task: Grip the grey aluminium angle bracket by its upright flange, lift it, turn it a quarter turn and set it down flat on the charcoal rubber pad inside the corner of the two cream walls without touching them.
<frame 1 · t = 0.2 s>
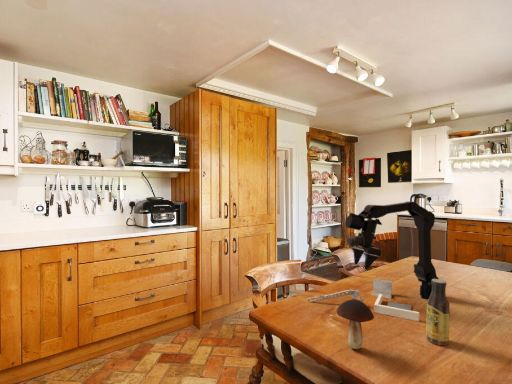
hand: (360, 266, 125), 15 cm above the table, tool pointing down, fingers open, 9 cm apart
arena: (398, 309, 116), on the table
bracket: (335, 304, 122), on the table
decorative mushroom: (354, 349, 87), on the table
sauce bottle: (437, 342, 91), on the table
aluminium bracket: (382, 295, 133), on the table
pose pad: (398, 309, 116), on the table
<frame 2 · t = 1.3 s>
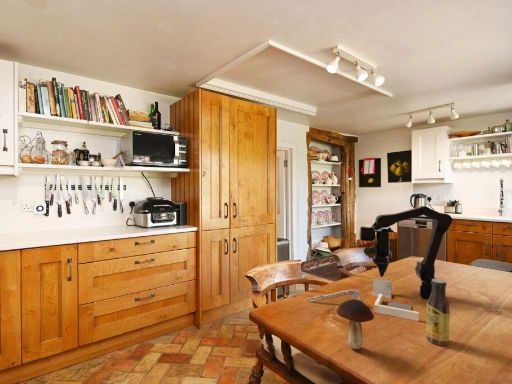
hand: (383, 274, 134), 9 cm above the table, tool pointing down, fingers open, 9 cm apart
nothing on the table moved.
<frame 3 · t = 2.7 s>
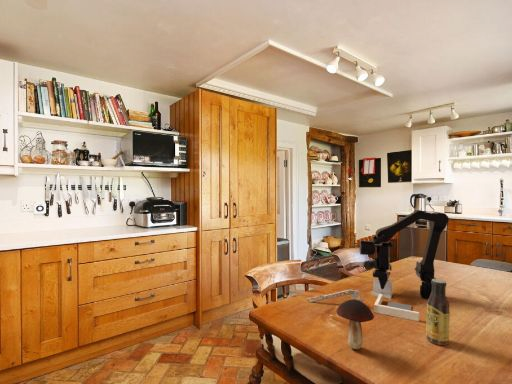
hand: (382, 288, 134), 3 cm above the table, tool pointing down, fingers closed on aluminium bracket
aluminium bracket: (382, 294, 133), on the table, touching gripper
everything else where it was.
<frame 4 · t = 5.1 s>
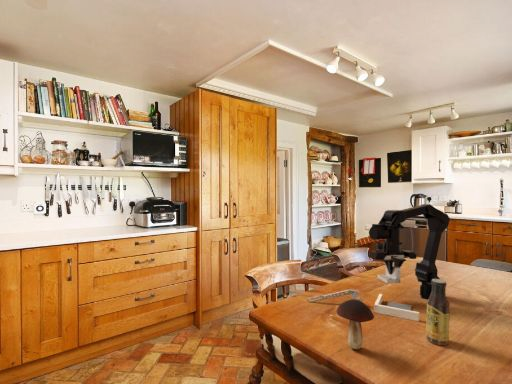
hand: (392, 274, 124), 12 cm above the table, tool pointing down, fingers closed on aluminium bracket
aluminium bracket: (388, 280, 124), point 9 cm above the table, touching gripper
everything else where it was.
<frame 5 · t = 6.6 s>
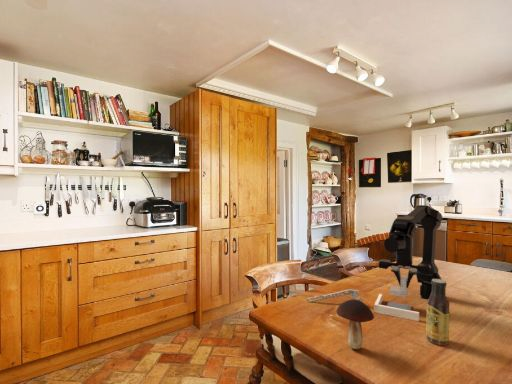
hand: (404, 287, 116), 9 cm above the table, tool pointing down, fingers closed on aluminium bracket
aluminium bracket: (398, 292, 117), point 7 cm above the table, touching gripper
everything else where it was.
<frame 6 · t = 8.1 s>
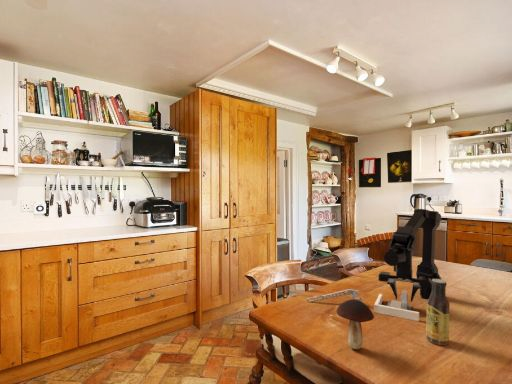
hand: (404, 300, 115), 4 cm above the table, tool pointing down, fingers open, 5 cm apart
aluminium bracket: (398, 308, 117), resting on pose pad
everything else where it was.
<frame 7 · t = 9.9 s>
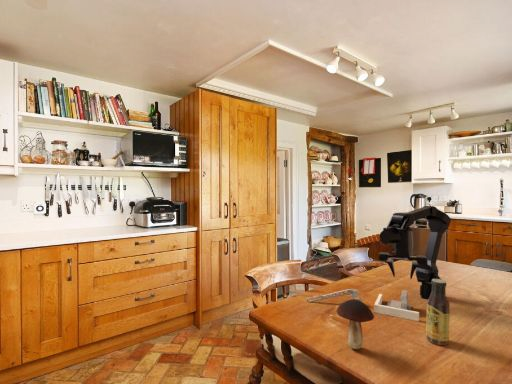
hand: (402, 277, 122), 11 cm above the table, tool pointing down, fingers open, 6 cm apart
nothing on the table moved.
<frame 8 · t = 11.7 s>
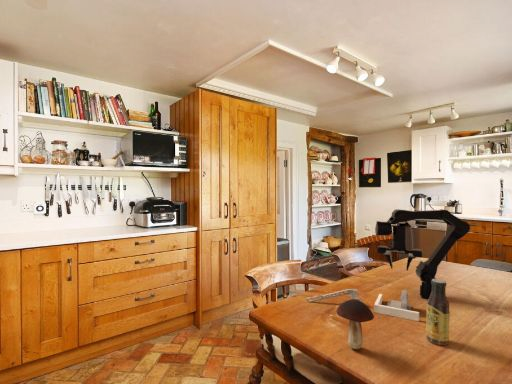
hand: (399, 269, 132), 12 cm above the table, tool pointing down, fingers open, 6 cm apart
nothing on the table moved.
at the end: aluminium bracket 0.1 cm from the target spot, resting on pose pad; aluminium bracket tilted 0°; aluminium bracket touching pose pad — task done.
